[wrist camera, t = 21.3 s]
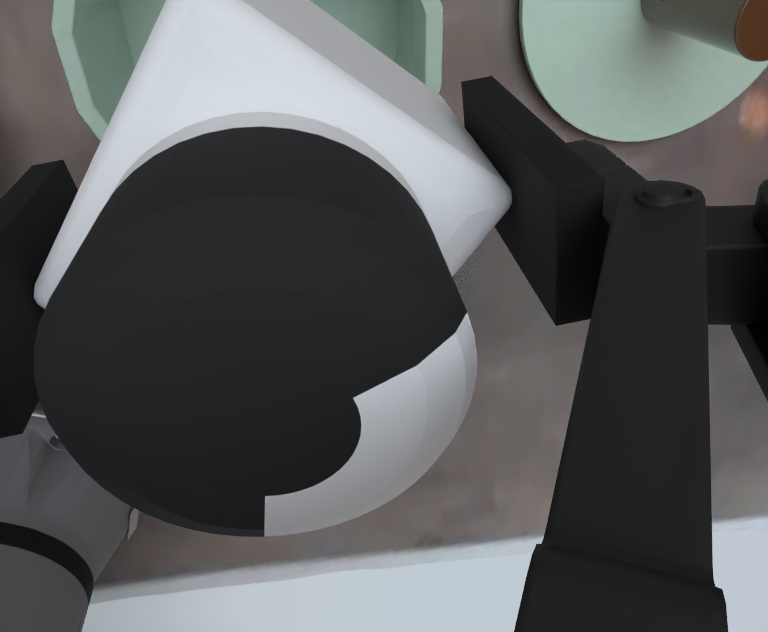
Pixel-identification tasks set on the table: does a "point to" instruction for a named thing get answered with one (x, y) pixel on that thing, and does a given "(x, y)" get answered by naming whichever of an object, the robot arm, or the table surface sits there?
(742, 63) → the basin lid
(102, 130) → the basin
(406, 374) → the medicine bottle
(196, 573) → the table surface
